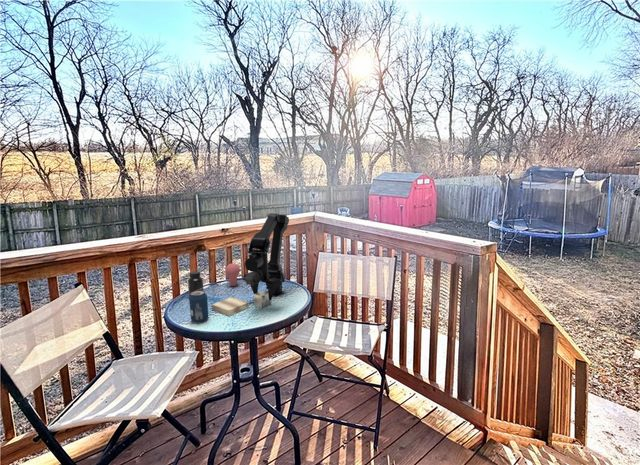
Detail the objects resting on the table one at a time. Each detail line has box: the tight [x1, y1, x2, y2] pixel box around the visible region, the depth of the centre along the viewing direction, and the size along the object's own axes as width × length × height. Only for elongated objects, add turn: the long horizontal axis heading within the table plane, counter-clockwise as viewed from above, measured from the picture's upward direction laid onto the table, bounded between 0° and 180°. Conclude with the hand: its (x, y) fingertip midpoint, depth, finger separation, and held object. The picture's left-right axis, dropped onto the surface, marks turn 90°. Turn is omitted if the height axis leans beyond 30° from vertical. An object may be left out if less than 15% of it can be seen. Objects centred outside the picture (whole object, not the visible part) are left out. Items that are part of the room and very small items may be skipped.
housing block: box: [253, 289, 273, 310], centre depth 168 cm, size 6×5×6 cm
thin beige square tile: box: [211, 296, 250, 317], centre depth 165 cm, size 11×11×2 cm
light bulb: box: [224, 262, 241, 287], centre depth 193 cm, size 7×7×12 cm
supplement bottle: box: [187, 270, 205, 298], centre depth 179 cm, size 7×7×12 cm
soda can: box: [188, 290, 210, 324], centre depth 153 cm, size 7×7×12 cm
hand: (262, 298), depth 168 cm, fingers open, 9 cm apart
